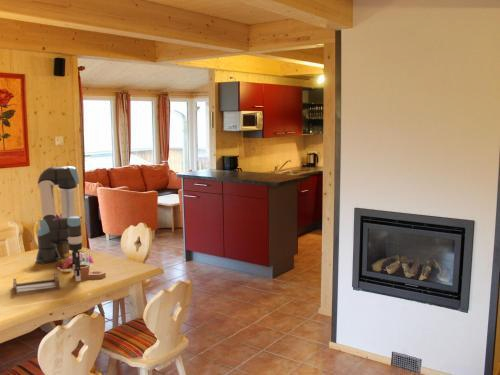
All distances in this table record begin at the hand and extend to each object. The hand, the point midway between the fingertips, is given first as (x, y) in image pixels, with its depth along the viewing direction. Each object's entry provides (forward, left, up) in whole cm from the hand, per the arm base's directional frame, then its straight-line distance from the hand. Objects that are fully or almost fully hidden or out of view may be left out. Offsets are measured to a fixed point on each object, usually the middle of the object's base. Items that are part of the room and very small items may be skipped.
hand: (77, 278), depth 295 cm
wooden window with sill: (+9, -22, 0) cm, 24 cm away
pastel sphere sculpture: (-28, +2, -1) cm, 28 cm away
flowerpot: (-61, -4, 0) cm, 61 cm away
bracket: (0, +8, -1) cm, 8 cm away
